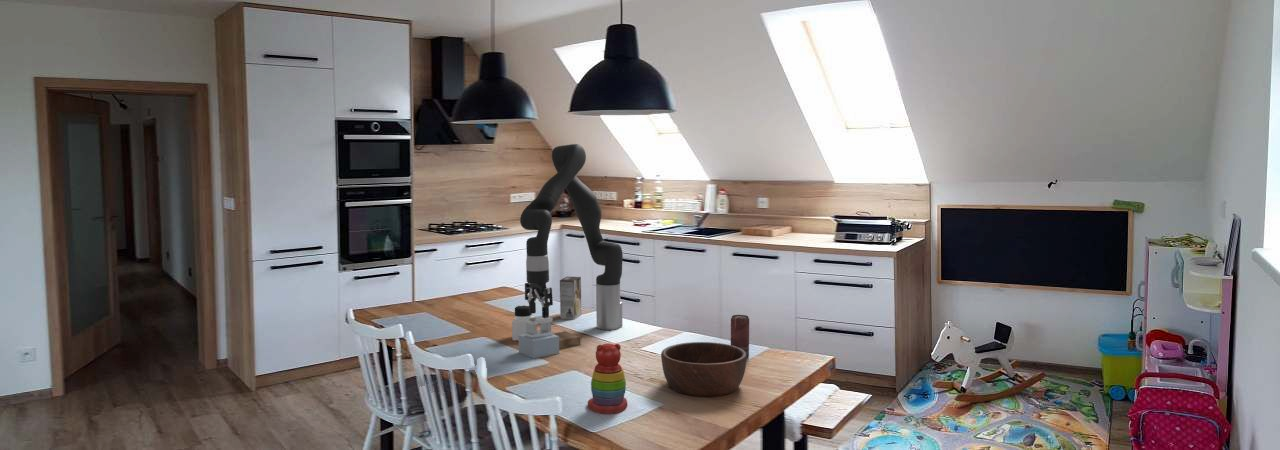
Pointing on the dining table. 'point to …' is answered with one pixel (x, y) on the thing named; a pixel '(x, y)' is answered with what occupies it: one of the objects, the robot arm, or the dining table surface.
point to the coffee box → (570, 297)
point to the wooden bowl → (703, 368)
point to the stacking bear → (608, 381)
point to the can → (740, 332)
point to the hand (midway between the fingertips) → (538, 315)
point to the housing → (532, 327)
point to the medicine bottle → (520, 321)
